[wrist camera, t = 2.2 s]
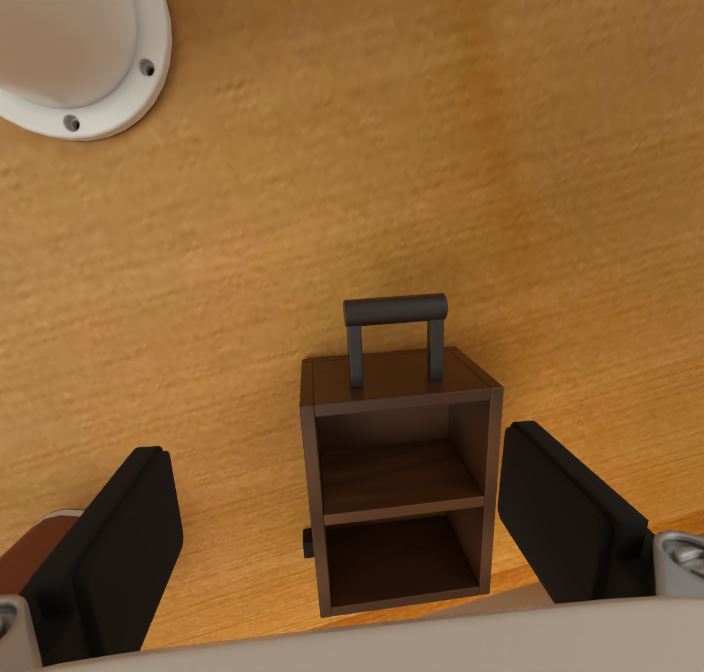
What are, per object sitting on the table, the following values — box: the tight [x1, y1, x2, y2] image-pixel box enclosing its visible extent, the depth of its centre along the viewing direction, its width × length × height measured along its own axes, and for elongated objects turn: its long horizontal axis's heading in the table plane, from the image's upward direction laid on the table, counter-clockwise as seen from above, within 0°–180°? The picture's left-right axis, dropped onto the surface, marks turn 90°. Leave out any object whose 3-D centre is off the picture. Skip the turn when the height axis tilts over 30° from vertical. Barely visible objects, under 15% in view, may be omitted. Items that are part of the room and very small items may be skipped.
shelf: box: [300, 293, 504, 618], centre depth 27 cm, size 21×12×8 cm, turn 3°
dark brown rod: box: [303, 529, 314, 558], centre depth 34 cm, size 2×15×2 cm, turn 93°
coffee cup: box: [0, 509, 84, 595], centre depth 26 cm, size 9×9×12 cm
